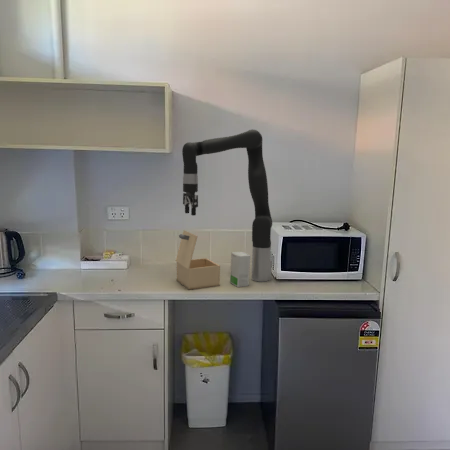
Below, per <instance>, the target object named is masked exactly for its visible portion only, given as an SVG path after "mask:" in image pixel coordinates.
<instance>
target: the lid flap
mask: <svg viewBox="0 0 450 450" xmlns="http://www.w3.org/2000/svg"><path fill="white" fill-rule="evenodd" d="M178 238H179V239H180V243H179V247H178V251H177V254H176V258H175V262H176V263H177V262H178V263H179V264H181V265H183V266H184V267H186V268H187V269H189V267H190V263H191V260H193V259H192V258H193V255H194V251H195V247H196V243H197V240H198V235H196V234H193V233H191V232H190V231H187V230H185V229H184V230H183V232H182V233H180V234H179V235H178Z"/></svg>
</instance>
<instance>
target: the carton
mask: <svg viewBox="0 0 450 450" xmlns="http://www.w3.org/2000/svg"><path fill="white" fill-rule="evenodd" d="M220 276H221V265H220V264H218V263H216V262H215V261H212V260H210V259H208V258H207V257H203V258H194V259H192V260H191V263H190V267H189V269H187V268H186V267H184V266H183V265H181V264H179V263H178V262H176V281H177V282H178V283H179V284H181V285H182V286H183V287H185V289H187V290H188V291H191V290H198V289H205V288H213V287H219V286H220V285H221V277H220Z"/></svg>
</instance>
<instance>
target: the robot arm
mask: <svg viewBox="0 0 450 450" xmlns="http://www.w3.org/2000/svg"><path fill="white" fill-rule="evenodd" d="M234 149H246V153H247V158H248V159H247V160H248V161H247V162H248V166H247V178H248V188H249V191H250V196H251V199H252V202H253V205H254V219H253V221H252V227H251V242H252V252H251V253H252V255H251V256H252V257H251V280H252V281H255V282H261V283H262V282H269V281H271V280H272V265H273V263H272V260H271V250H272V249H271V248H272V247H271V246H272V241H271V234H272V233H271V232H272V230H271V228H272V227H273V218H272V215H271V211H270V210H271V209H270V205H269V186H268V177H267V171H266V167H265V161H264V158H263V154H264V153H263V136H262V134H261V132H260V131H258V130H257V129H249V130H246V131H244V132H241V133H239V134H235V135H230V136H222V137H217V138H210V139H205V140H204V139H203V140H202V141H195V142H186V143H185V144H183V146H182V150H181V151H182V153H181V154H182V161H183V162H182V163H183V176H182V192H183V194H182V205H183V206H184V213H185V214H189V213H190V212H191V213H190V215H191V216H196V215H197V208H198V207H199V195H198V194H196V193H198V192H199V189H198V188H199V187H198V186H199V176H198V163H197V156H198V157H199V156H203V155H210V154H211V155H212V154H216V153H221V152H225V151H229V150H234ZM190 207H191V209H190ZM190 210H191V211H190Z"/></svg>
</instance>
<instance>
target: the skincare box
mask: <svg viewBox="0 0 450 450" xmlns="http://www.w3.org/2000/svg"><path fill="white" fill-rule="evenodd" d="M230 254H231V255H230V256H231V257H230V272H229V274H230V276H229V283H230V284H232V285H233V286H235V287H237V288H241V287H248V286H249V285H250V284H249V281H250V266H251V255H250V254H249V253H246V252H244V251H241V250H240V251H232V252H231V253H230Z"/></svg>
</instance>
